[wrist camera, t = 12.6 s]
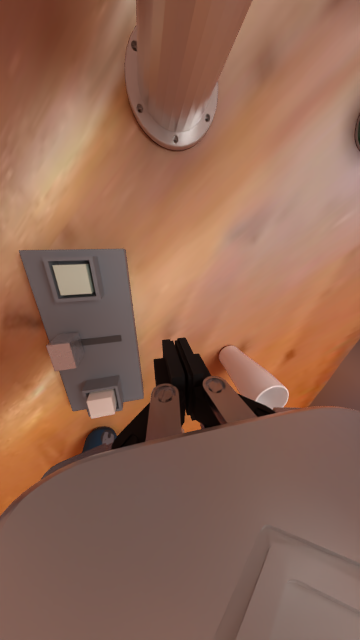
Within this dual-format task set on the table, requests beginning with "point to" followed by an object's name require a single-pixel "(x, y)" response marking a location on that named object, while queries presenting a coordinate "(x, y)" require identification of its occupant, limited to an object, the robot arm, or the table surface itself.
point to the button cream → (102, 403)
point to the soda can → (99, 438)
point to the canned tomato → (357, 133)
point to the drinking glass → (253, 378)
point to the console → (91, 322)
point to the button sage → (74, 279)
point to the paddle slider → (65, 351)
